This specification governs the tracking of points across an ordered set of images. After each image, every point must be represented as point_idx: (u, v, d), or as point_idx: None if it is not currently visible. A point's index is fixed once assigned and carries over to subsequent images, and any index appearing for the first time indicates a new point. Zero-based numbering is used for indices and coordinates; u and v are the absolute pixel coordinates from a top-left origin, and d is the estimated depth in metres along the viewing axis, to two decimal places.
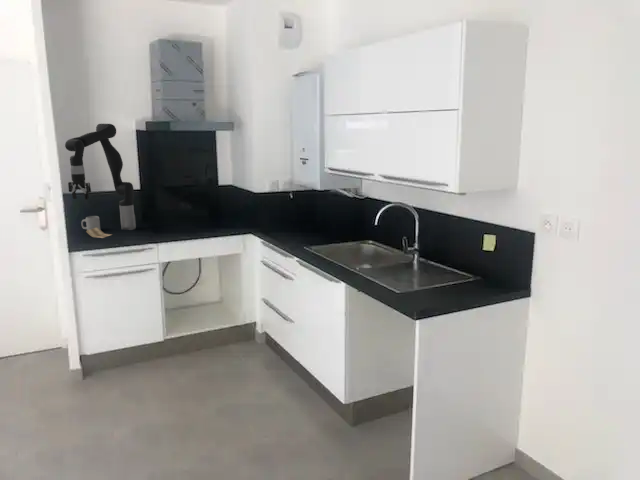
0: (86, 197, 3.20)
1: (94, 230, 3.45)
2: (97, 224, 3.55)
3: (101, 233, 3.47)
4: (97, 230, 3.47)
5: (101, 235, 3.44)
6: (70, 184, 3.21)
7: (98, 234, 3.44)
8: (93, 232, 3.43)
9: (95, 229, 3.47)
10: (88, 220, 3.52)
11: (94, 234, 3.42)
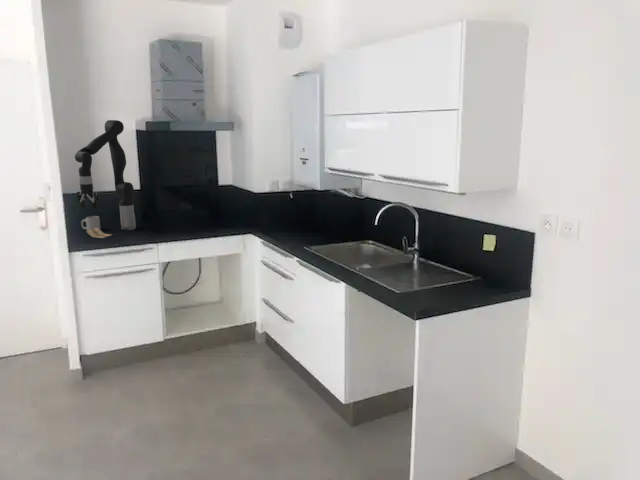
0: (94, 206, 3.38)
1: (94, 230, 3.45)
2: (97, 224, 3.55)
3: (101, 233, 3.47)
4: (97, 230, 3.47)
5: (101, 235, 3.44)
6: (79, 193, 3.38)
7: (98, 234, 3.44)
8: (93, 232, 3.43)
9: (95, 229, 3.47)
10: (88, 220, 3.52)
11: (94, 234, 3.42)
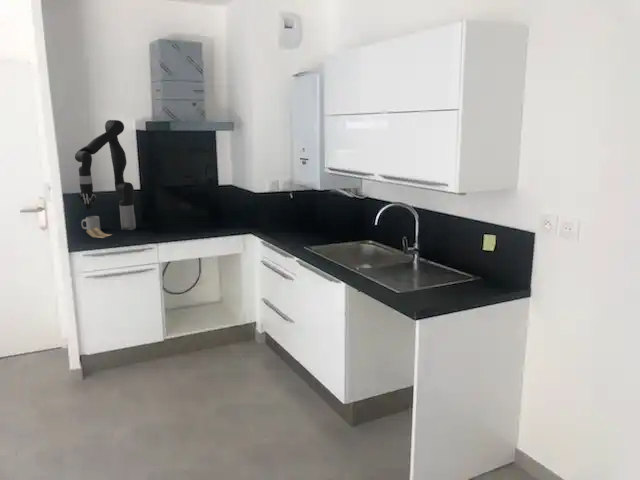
0: (89, 207, 3.39)
1: (94, 230, 3.45)
2: (97, 224, 3.55)
3: (101, 233, 3.47)
4: (97, 230, 3.47)
5: (101, 235, 3.44)
6: (80, 195, 3.39)
7: (98, 234, 3.44)
8: (93, 232, 3.43)
9: (95, 229, 3.47)
10: (88, 220, 3.52)
11: (94, 234, 3.42)
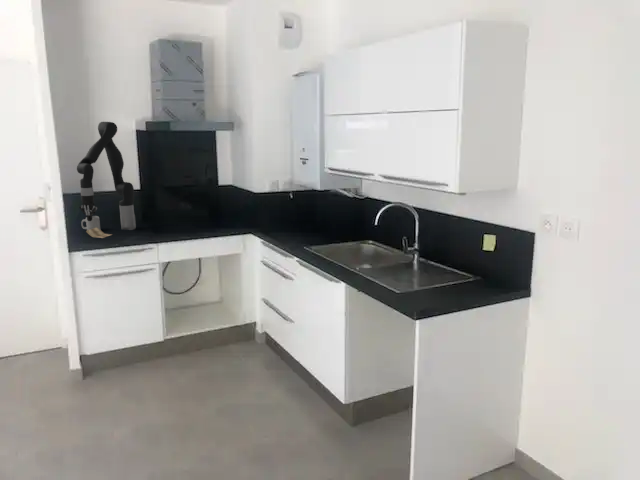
0: (90, 219, 3.41)
1: (94, 230, 3.45)
2: (97, 224, 3.55)
3: (101, 233, 3.47)
4: (97, 230, 3.47)
5: (101, 235, 3.44)
6: (81, 207, 3.40)
7: (98, 234, 3.44)
8: (93, 232, 3.43)
9: (95, 229, 3.47)
10: None
11: (94, 234, 3.42)
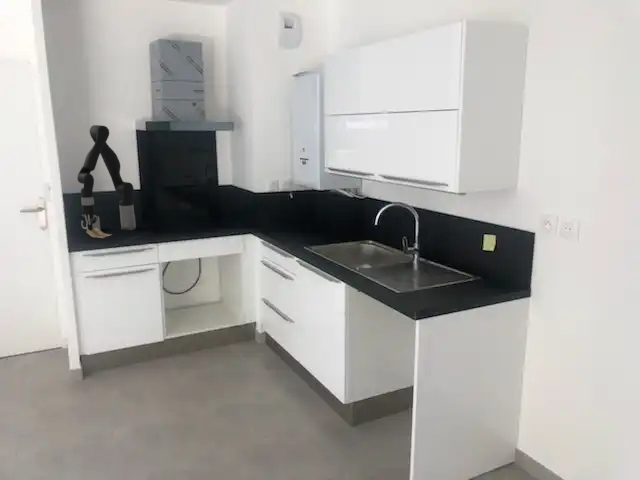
0: (90, 228, 3.42)
1: (94, 230, 3.45)
2: (97, 224, 3.55)
3: (101, 233, 3.47)
4: (96, 230, 3.47)
5: (101, 235, 3.44)
6: (82, 216, 3.42)
7: (98, 234, 3.44)
8: (93, 232, 3.43)
9: (95, 229, 3.47)
10: None
11: (94, 234, 3.42)
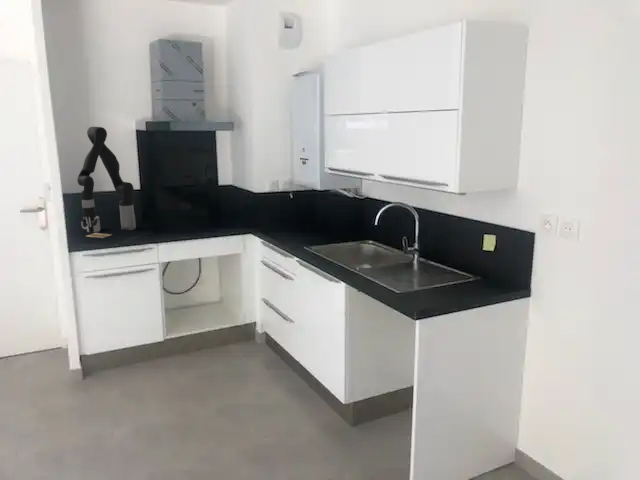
0: (91, 230, 3.43)
1: (94, 234, 3.46)
2: (97, 224, 3.55)
3: (101, 234, 3.47)
4: (96, 234, 3.48)
5: (101, 235, 3.44)
6: (83, 219, 3.43)
7: (98, 235, 3.45)
8: (92, 235, 3.44)
9: (94, 233, 3.48)
10: None
11: (94, 236, 3.42)
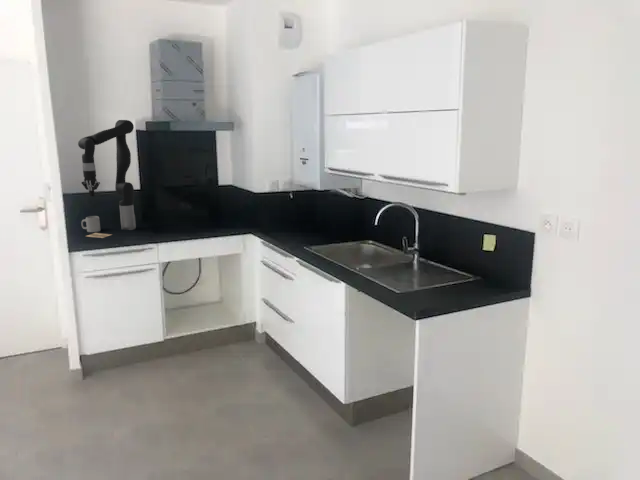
0: (92, 194, 3.42)
1: (94, 234, 3.46)
2: (97, 224, 3.55)
3: (101, 234, 3.47)
4: (96, 234, 3.48)
5: (101, 235, 3.44)
6: (83, 183, 3.42)
7: (98, 235, 3.45)
8: (92, 235, 3.44)
9: (94, 233, 3.48)
10: (88, 220, 3.52)
11: (94, 236, 3.42)
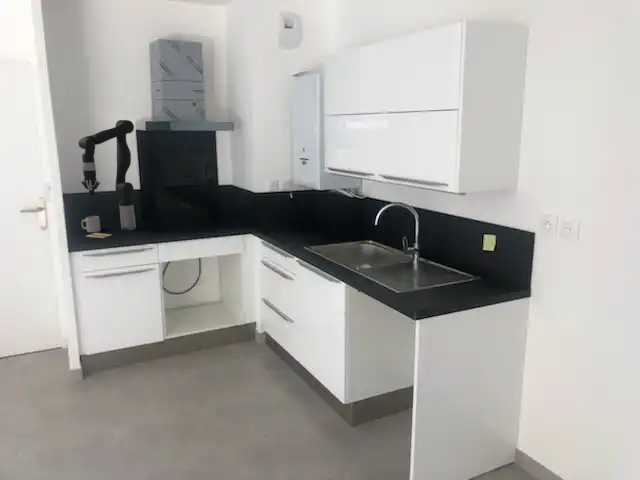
0: (92, 194, 3.42)
1: (94, 234, 3.46)
2: (97, 224, 3.55)
3: (101, 234, 3.47)
4: (96, 234, 3.48)
5: (101, 235, 3.44)
6: (83, 182, 3.42)
7: (98, 235, 3.45)
8: (92, 235, 3.44)
9: (94, 233, 3.48)
10: (88, 220, 3.52)
11: (94, 236, 3.42)
